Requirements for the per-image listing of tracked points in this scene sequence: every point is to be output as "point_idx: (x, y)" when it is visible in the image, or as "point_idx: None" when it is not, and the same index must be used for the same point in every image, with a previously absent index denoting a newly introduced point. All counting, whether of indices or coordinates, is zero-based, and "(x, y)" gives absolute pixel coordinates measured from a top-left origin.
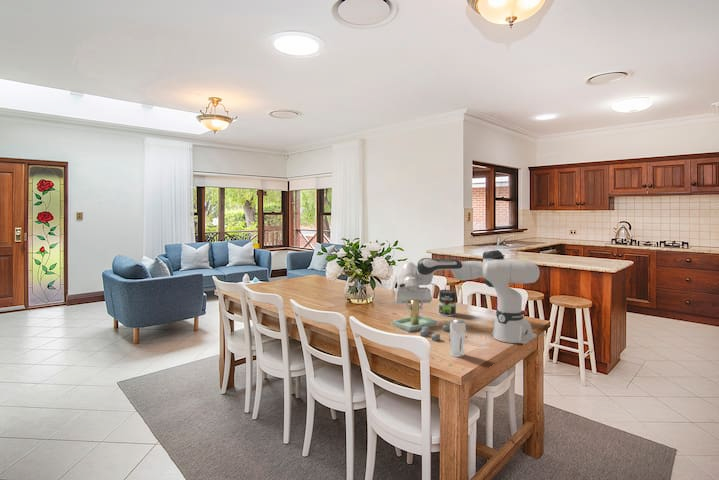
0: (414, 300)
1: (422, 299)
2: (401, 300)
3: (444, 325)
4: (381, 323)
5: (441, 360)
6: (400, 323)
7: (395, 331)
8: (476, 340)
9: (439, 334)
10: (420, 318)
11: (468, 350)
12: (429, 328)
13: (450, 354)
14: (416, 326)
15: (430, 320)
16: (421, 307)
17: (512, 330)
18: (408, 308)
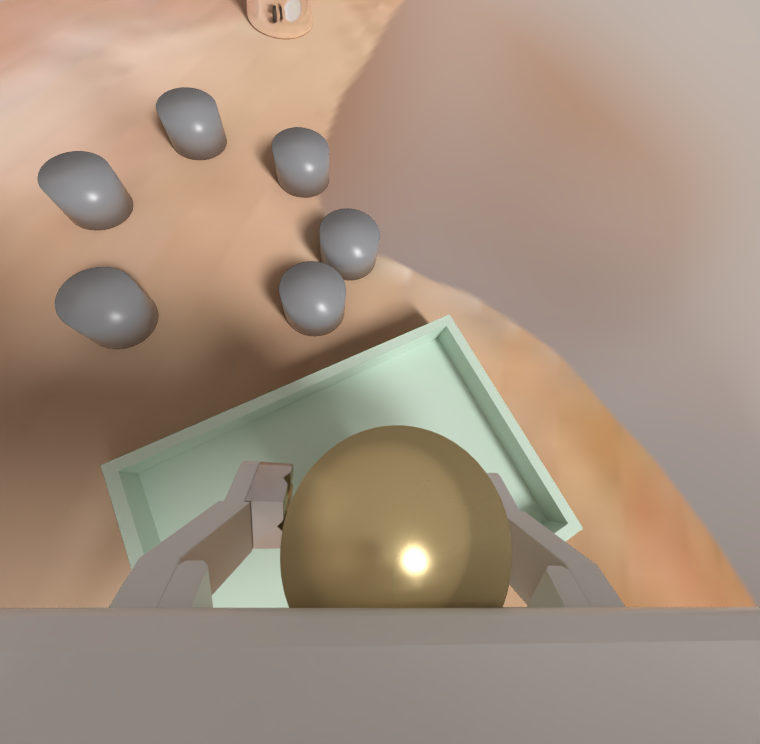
0: (406, 548)
1: (110, 617)
2: (742, 607)
3: (112, 310)
4: (651, 603)
5: (372, 3)
6: (512, 427)
7: (534, 365)
8: (39, 114)
9: (272, 146)
10: None
11: (196, 34)
12: (291, 268)
13: (312, 21)
14: (380, 346)
15: (151, 546)
16: (260, 463)
17: None
18: (491, 473)
